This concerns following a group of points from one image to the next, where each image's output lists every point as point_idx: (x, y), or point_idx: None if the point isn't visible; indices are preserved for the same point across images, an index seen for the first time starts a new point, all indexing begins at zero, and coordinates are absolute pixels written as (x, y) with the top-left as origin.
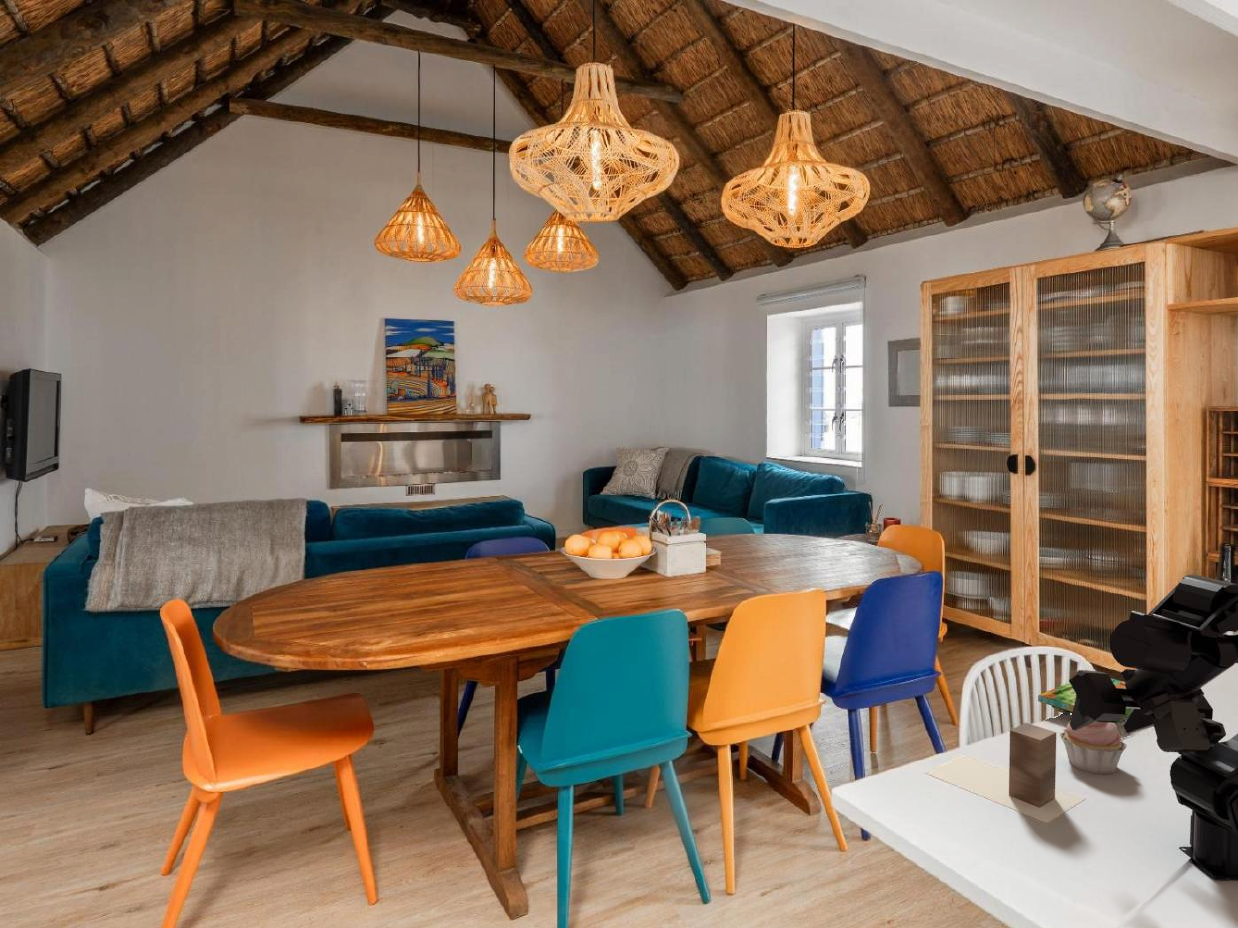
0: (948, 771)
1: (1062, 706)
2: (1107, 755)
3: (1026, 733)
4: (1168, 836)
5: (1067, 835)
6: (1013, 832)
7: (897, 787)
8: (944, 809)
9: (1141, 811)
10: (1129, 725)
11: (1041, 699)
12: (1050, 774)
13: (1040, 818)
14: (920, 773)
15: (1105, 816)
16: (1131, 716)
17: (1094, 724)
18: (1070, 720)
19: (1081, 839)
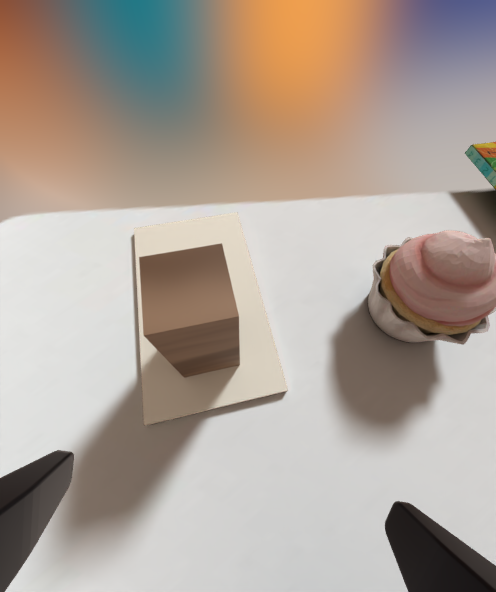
0: (168, 237)
1: (488, 176)
2: (418, 335)
3: (156, 287)
4: (328, 574)
5: (149, 465)
6: (78, 411)
7: (72, 238)
8: (63, 308)
9: (360, 463)
10: (411, 553)
11: (470, 153)
12: (217, 356)
13: (148, 407)
14: (139, 224)
15: (278, 445)
16: (460, 577)
17: (447, 278)
18: (37, 461)
19: (157, 491)
